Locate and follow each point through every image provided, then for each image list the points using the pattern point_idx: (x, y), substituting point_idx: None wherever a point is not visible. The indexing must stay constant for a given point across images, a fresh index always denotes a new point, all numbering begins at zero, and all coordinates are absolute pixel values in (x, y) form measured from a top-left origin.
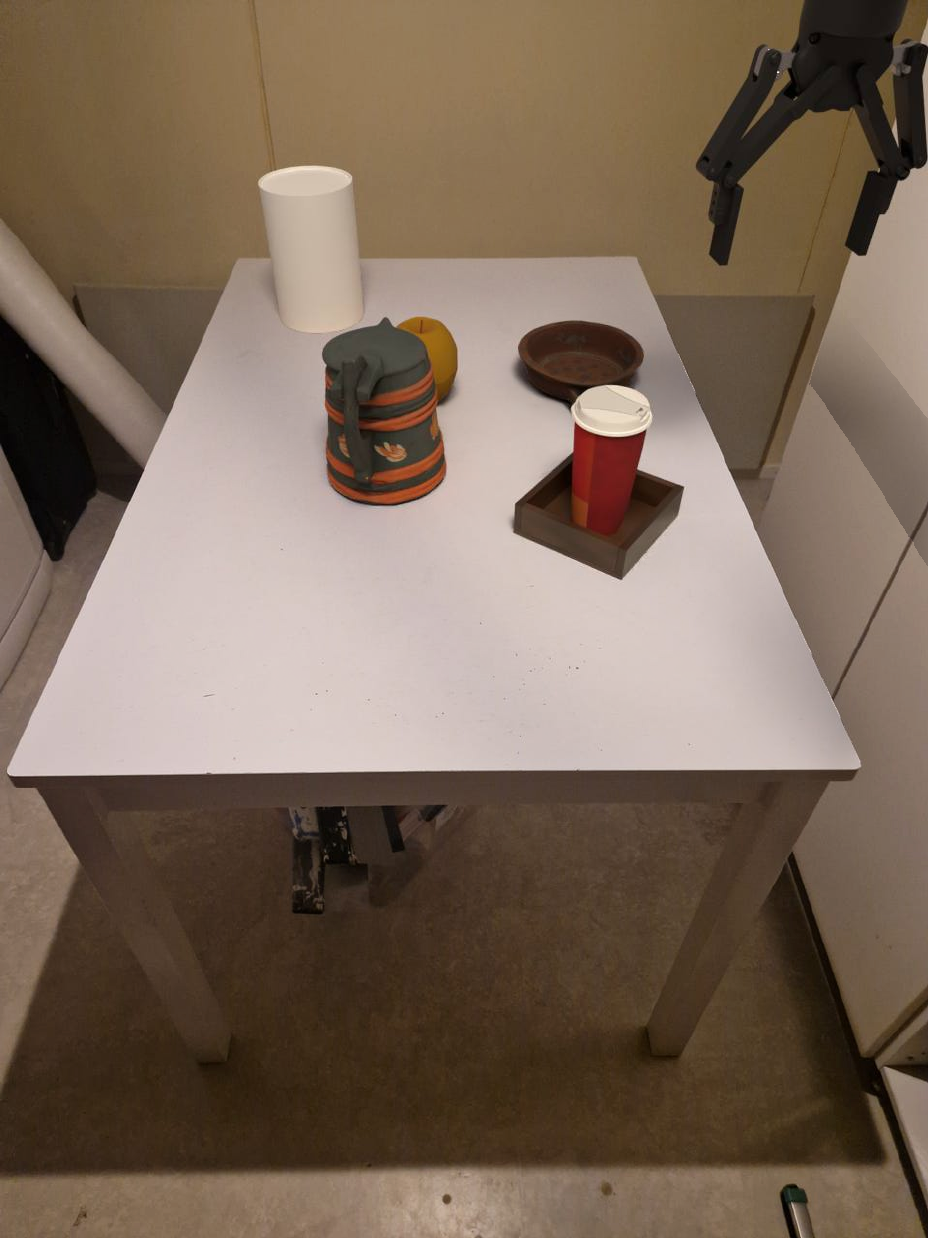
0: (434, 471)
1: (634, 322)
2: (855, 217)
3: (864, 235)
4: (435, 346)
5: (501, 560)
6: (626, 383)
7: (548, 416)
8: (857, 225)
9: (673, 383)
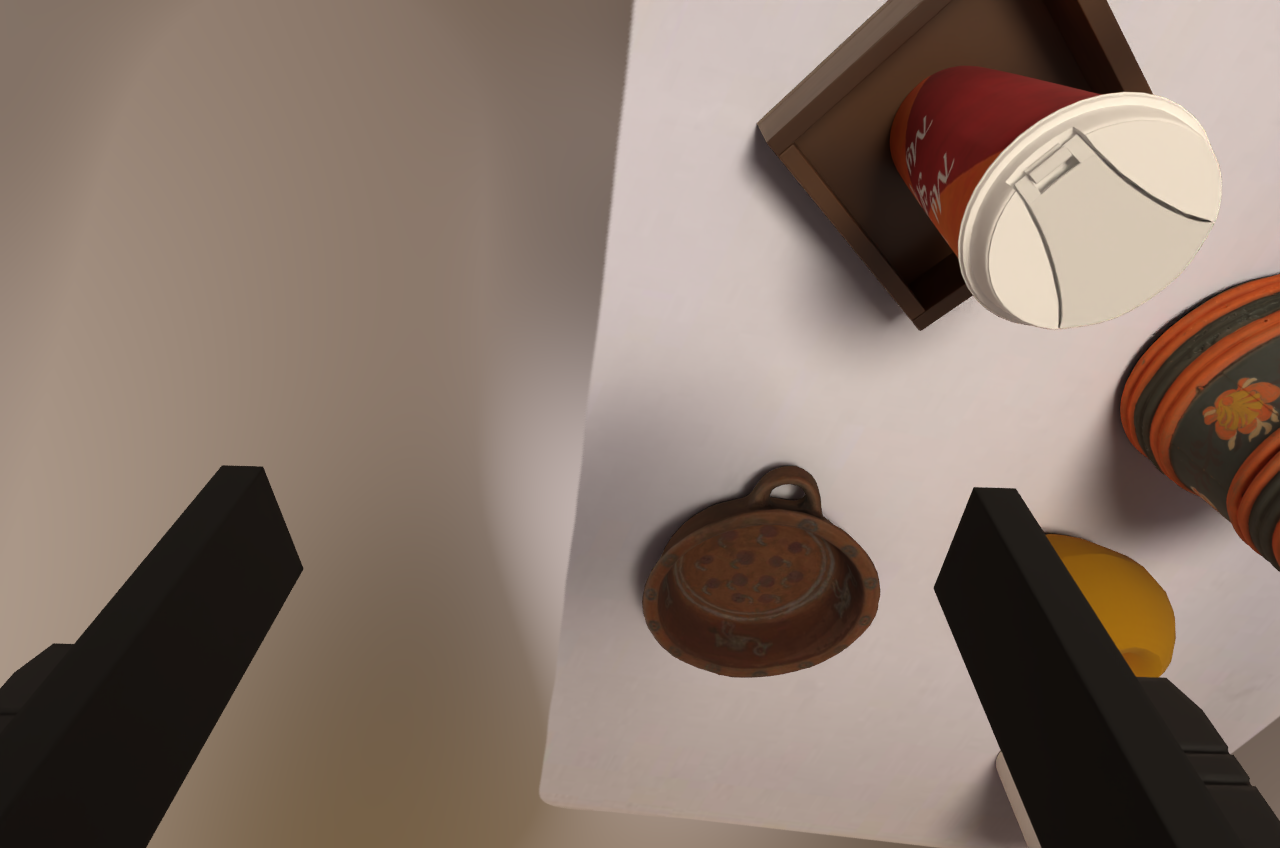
0: (1221, 325)
1: (587, 675)
2: (232, 669)
3: (212, 541)
4: (1110, 620)
5: (1220, 33)
6: (697, 520)
7: (853, 476)
8: (232, 622)
9: (585, 525)
